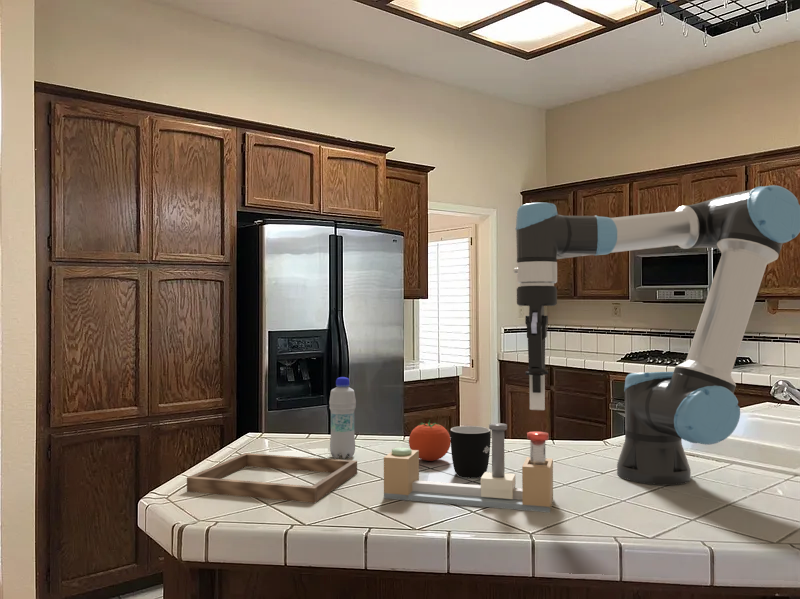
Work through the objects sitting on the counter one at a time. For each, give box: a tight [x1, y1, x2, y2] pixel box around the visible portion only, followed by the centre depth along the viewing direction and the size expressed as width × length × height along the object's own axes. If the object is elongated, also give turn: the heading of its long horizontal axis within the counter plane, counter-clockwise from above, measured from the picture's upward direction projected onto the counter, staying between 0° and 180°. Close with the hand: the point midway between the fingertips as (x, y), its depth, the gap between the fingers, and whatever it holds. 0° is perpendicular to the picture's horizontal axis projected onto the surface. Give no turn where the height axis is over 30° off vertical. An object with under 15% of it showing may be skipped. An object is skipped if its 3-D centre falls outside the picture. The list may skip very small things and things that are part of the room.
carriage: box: [480, 422, 517, 499], centre depth 128 cm, size 6×5×14 cm
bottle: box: [328, 376, 357, 460], centre depth 166 cm, size 7×7×20 cm
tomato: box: [408, 419, 451, 462], centre depth 162 cm, size 10×10×10 cm
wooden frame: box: [186, 452, 358, 504], centre depth 143 cm, size 28×23×3 cm
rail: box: [383, 447, 554, 513], centre depth 130 cm, size 32×8×9 cm, turn 73°
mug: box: [449, 425, 492, 479], centre depth 150 cm, size 12×9×10 cm
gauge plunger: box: [526, 431, 550, 465], centre depth 126 cm, size 4×4×9 cm
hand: (537, 409), depth 126 cm, fingers closed
